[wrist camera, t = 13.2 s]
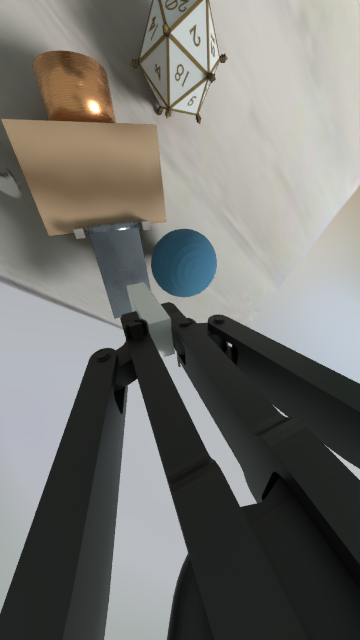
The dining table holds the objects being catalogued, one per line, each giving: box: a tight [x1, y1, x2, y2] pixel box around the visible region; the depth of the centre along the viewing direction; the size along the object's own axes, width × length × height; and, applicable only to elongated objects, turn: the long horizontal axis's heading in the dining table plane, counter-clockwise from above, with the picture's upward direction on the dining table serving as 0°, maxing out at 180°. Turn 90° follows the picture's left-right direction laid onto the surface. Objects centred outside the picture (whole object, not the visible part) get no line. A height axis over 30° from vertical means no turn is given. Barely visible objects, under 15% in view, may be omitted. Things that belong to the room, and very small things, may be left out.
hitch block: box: [1, 119, 166, 239], centre depth 20 cm, size 8×12×9 cm
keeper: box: [87, 220, 151, 318], centre depth 21 cm, size 10×5×1 cm, turn 5°
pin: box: [32, 51, 116, 123], centre depth 21 cm, size 16×6×6 cm, turn 5°
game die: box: [129, 0, 228, 124], centre depth 19 cm, size 9×8×10 cm
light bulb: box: [151, 229, 217, 297], centre depth 26 cm, size 8×8×12 cm
